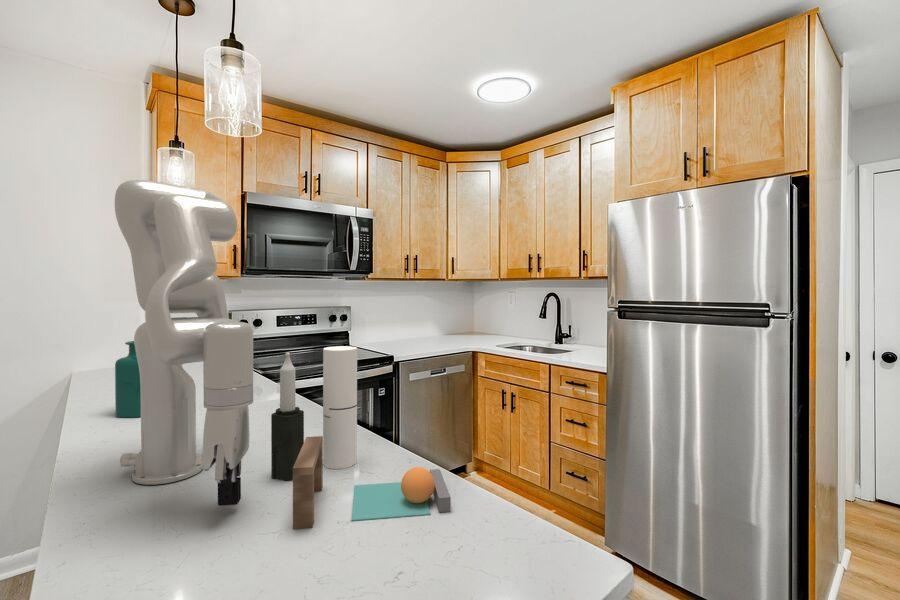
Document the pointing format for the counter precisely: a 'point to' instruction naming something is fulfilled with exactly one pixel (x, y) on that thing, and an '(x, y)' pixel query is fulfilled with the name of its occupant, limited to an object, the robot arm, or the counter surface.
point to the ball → (417, 485)
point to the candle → (286, 426)
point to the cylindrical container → (339, 406)
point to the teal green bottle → (127, 385)
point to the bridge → (307, 481)
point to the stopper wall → (441, 492)
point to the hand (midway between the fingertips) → (229, 502)
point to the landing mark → (384, 502)
